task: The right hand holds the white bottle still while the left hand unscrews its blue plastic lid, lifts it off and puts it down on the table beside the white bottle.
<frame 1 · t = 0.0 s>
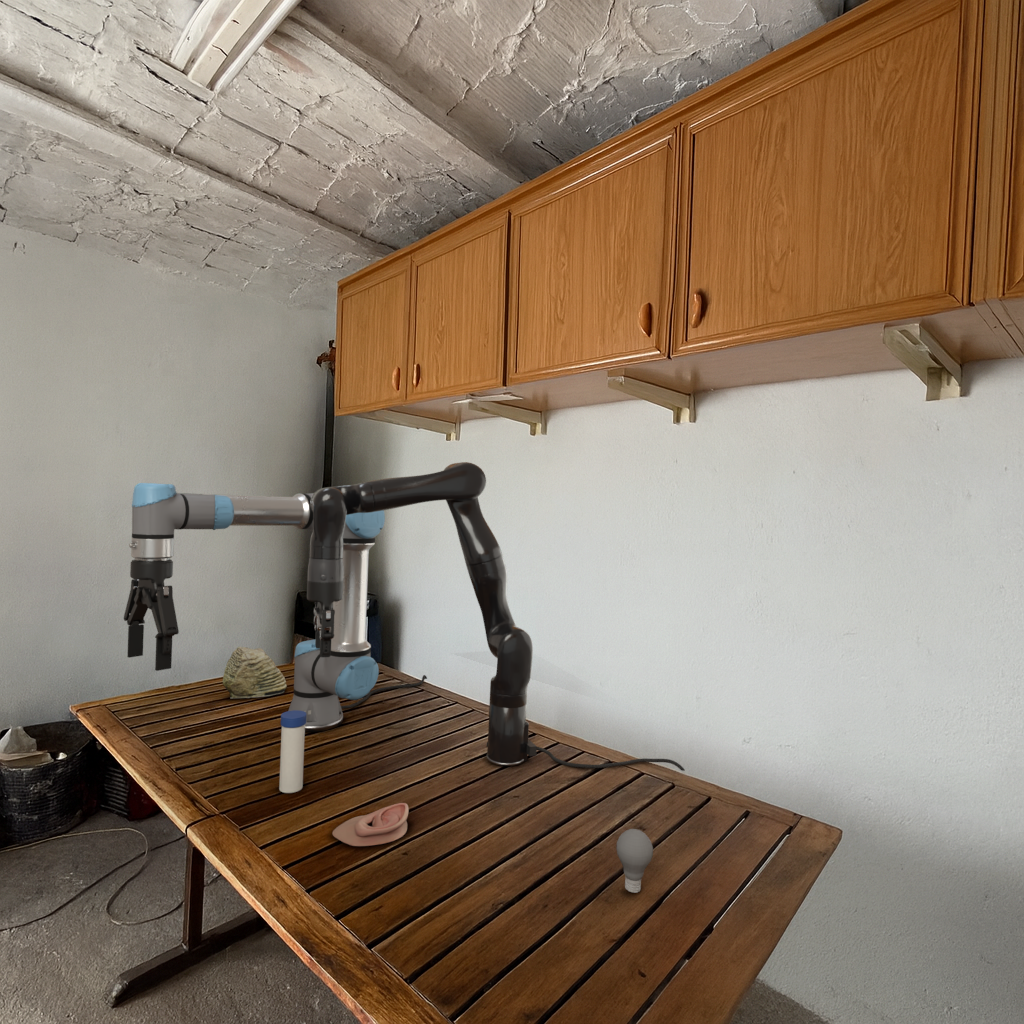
left hand: (148, 662, 129), 28 cm above the table, tool pointing down, fingers open, 13 cm apart
right hand: (322, 652, 139), 29 cm above the table, tool pointing down, fingers open, 8 cm apart
light bulb: (632, 891, 106), on the table
anatomical model: (370, 832, 121), on the table
lid: (293, 716, 137), point 16 cm above the table, screwed on, not yet turned
white bottle: (291, 787, 137), on the table
fossil: (254, 694, 198), on the table
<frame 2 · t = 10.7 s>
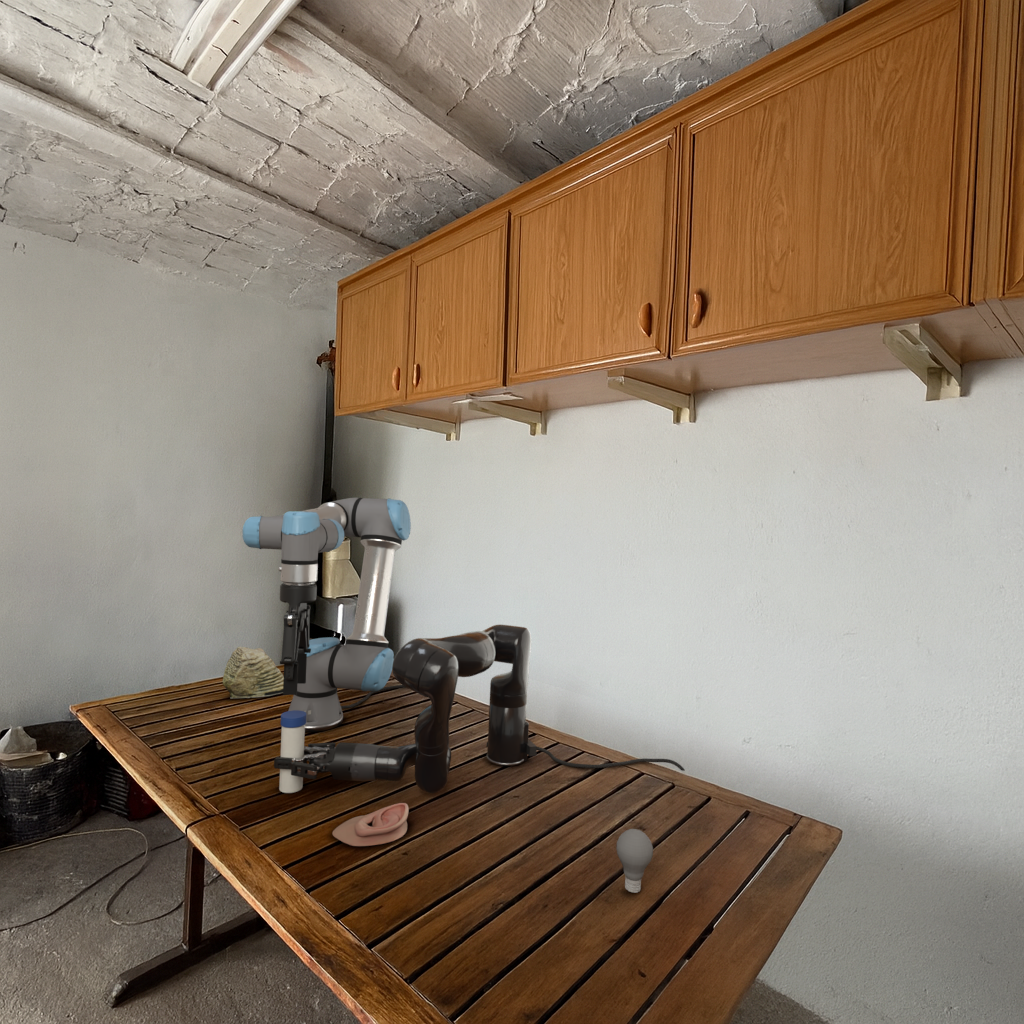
left hand: (294, 688, 137), 22 cm above the table, tool pointing down, fingers open, 7 cm apart
right hand: (280, 757, 137), 6 cm above the table, tool horizontal, fingers closed on white bottle, 4 cm apart
white bottle: (291, 787, 137), on the table, touching right hand
everything else where it was.
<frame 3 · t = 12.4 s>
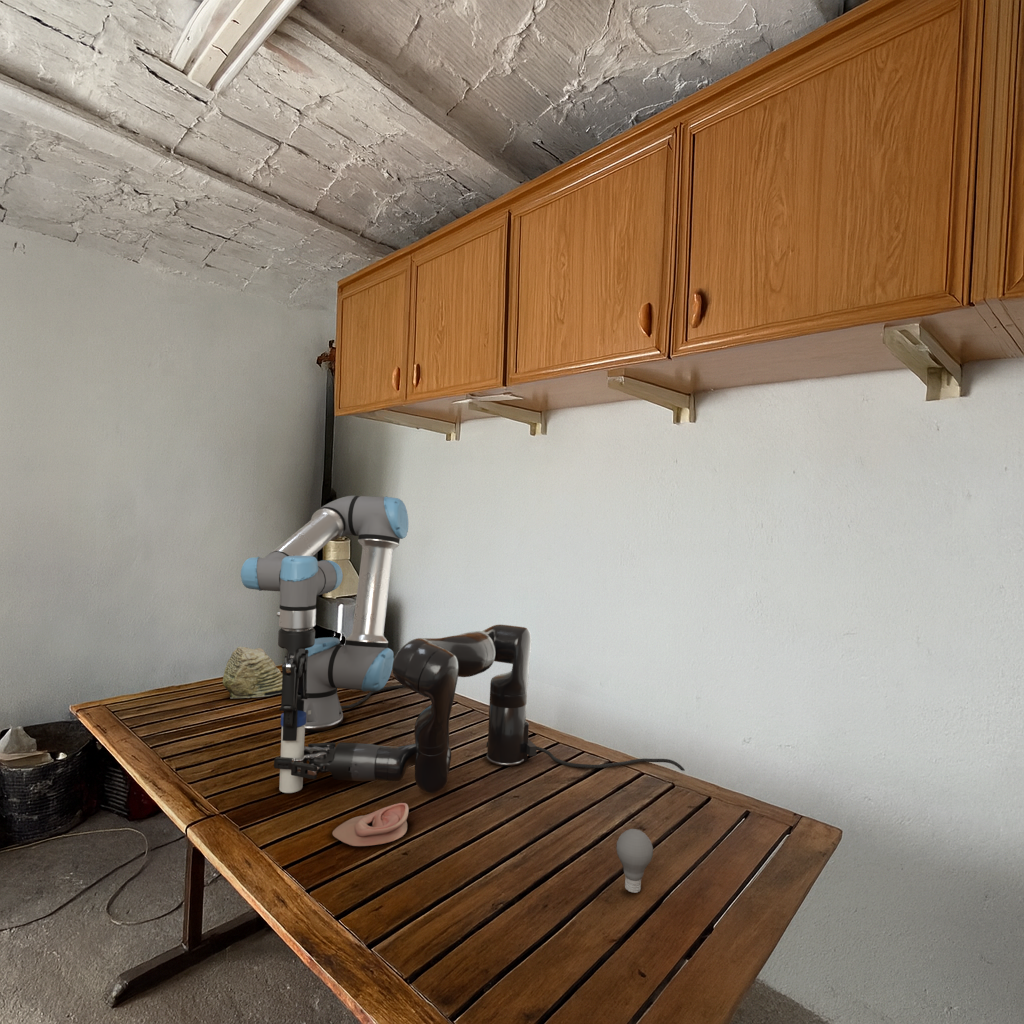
left hand: (293, 734, 137), 12 cm above the table, tool pointing down, fingers closed on lid, 5 cm apart
right hand: (280, 757, 137), 6 cm above the table, tool horizontal, fingers closed on white bottle, 4 cm apart
lid: (293, 716, 137), point 16 cm above the table, screwed on, not yet turned, touching left hand
white bottle: (291, 787, 137), on the table, touching right hand
everything else where it was.
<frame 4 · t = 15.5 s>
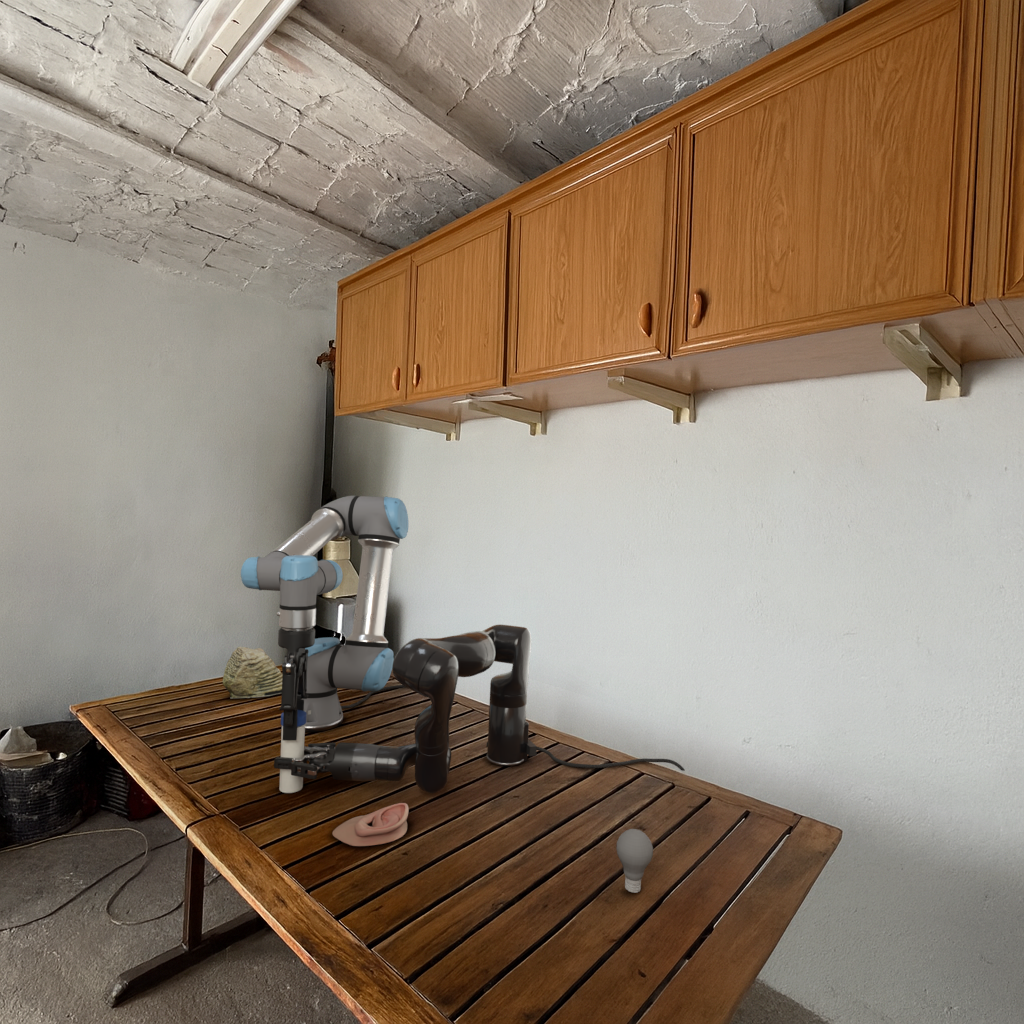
left hand: (293, 734, 137), 12 cm above the table, tool pointing down, fingers closed on lid, 5 cm apart
right hand: (280, 757, 137), 6 cm above the table, tool horizontal, fingers closed on white bottle, 4 cm apart
lid: (293, 715, 137), point 16 cm above the table, turned 81° so far, risen 0.1 cm, still on its thread, touching left hand
white bottle: (291, 787, 137), on the table, touching right hand
everything else where it was.
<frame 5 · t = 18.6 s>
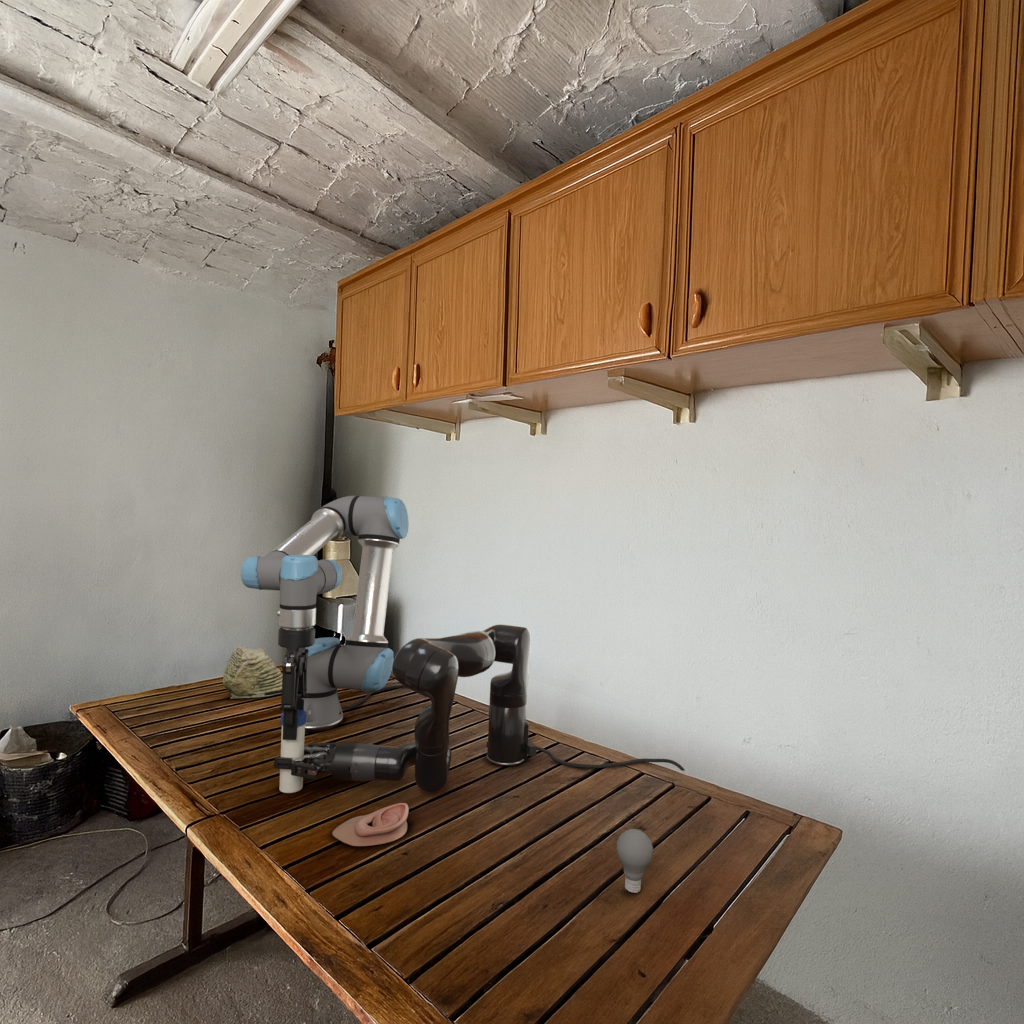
left hand: (293, 733, 137), 12 cm above the table, tool pointing down, fingers closed on lid, 5 cm apart
right hand: (280, 757, 137), 6 cm above the table, tool horizontal, fingers closed on white bottle, 4 cm apart
lid: (293, 715, 137), point 16 cm above the table, turned 162° so far, risen 0.2 cm, still on its thread, touching left hand
white bottle: (291, 787, 137), on the table, touching right hand
everything else where it was.
when the left hand's fingers open (0 cm above the table, at t = 34.2 s): lid drops 3 cm, point 2 cm above the table.
when the right hand's fingers open (7 cm above the table, at t = 34.8 s): white bottle stays where it is, on the table.
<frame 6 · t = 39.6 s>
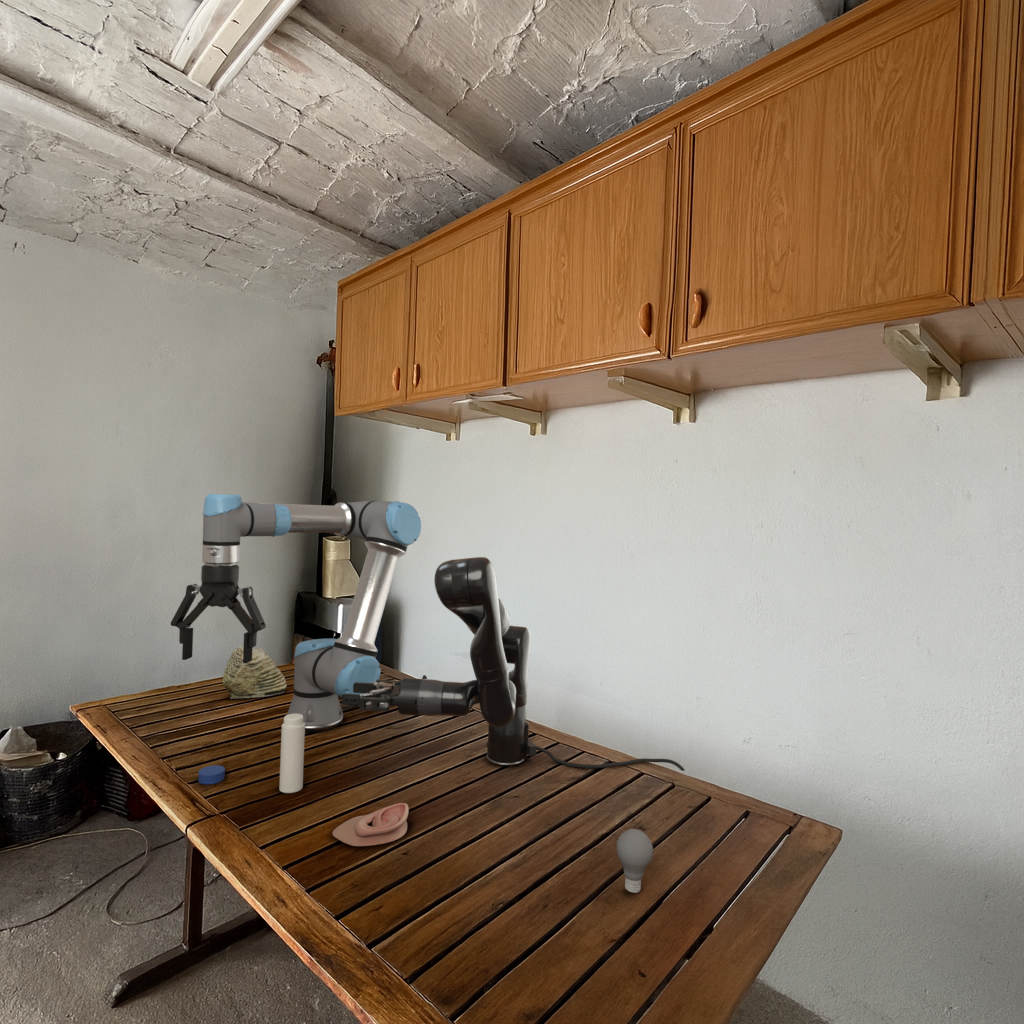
left hand: (217, 660, 140), 26 cm above the table, tool pointing down, fingers open, 13 cm apart
right hand: (347, 693, 136), 21 cm above the table, tool horizontal, fingers open, 8 cm apart
lid: (211, 771, 140), point 2 cm above the table, off its thread
white bottle: (291, 787, 137), on the table
everything else where it was.
at the end: lid came off its thread; lid point 1.6 cm above the table; the left hand is holding nothing; the right hand is holding nothing; white bottle tilted 0°; white bottle moved 0.0 cm from its start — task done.
